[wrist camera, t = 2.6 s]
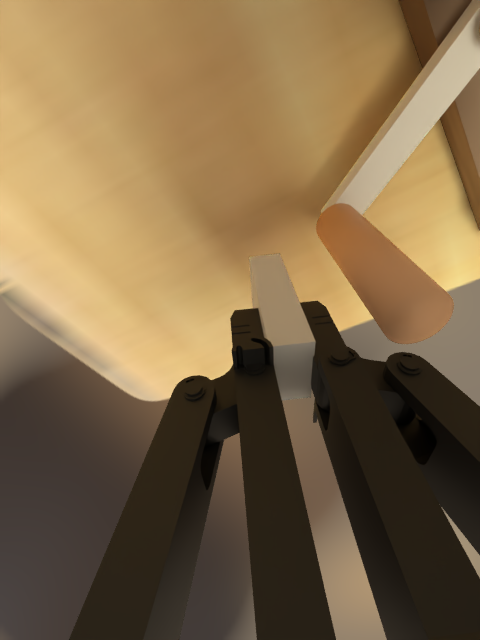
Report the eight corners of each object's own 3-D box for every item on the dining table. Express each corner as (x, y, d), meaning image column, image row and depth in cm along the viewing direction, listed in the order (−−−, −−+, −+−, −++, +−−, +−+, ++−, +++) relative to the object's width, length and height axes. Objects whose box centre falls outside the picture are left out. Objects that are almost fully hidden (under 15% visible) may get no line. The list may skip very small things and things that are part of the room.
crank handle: (507, 24, 14) (889, -50, 6) (333, 244, 20) (414, 352, 12) (476, -17, 13) (870, -162, 5) (304, 226, 19) (368, 329, 11)
